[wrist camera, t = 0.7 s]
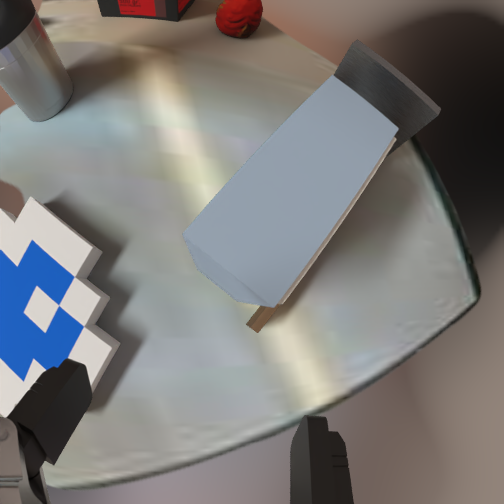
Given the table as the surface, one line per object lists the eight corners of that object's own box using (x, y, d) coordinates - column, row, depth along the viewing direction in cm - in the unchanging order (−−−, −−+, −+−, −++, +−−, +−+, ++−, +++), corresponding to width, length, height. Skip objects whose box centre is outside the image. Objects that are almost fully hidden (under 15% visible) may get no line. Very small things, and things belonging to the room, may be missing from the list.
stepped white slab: (1, 170, 30) (148, 287, 32) (15, 179, 34) (154, 288, 35) (-68, 329, 25) (53, 460, 26) (-53, 328, 29) (64, 448, 30)
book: (197, 269, 36) (182, 234, 16) (273, 178, 39) (332, 74, 18) (239, 303, 36) (279, 312, 16) (311, 209, 39) (402, 131, 19)
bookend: (316, 104, 42) (352, 43, 28) (333, 86, 43) (369, 29, 29) (383, 159, 42) (438, 115, 28) (396, 138, 43) (447, 94, 29)
